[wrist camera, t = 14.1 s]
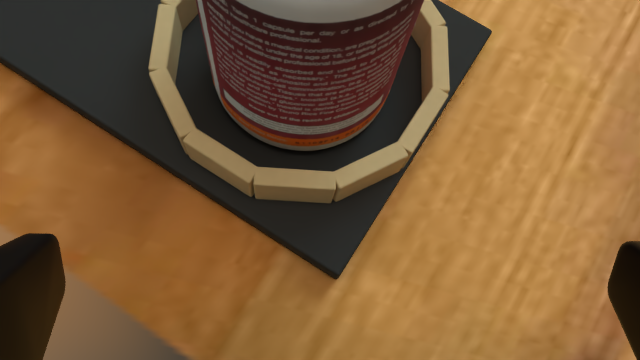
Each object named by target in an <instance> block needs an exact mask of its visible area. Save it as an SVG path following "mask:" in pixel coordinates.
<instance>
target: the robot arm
mask: <svg viewBox="0 0 640 360" xmlns="http://www.w3.org/2000/svg"><path fill="white" fill-rule="evenodd" d="M64 291H65V275H64V269H63V264H62V258H61V252H60V247H59V242H58V240H57V238H56V237H55V236H54V235H53V234H34V233H29V234H25V235H22V236H20V237H18V238H16V239H14V240H12V241H10V242H8V243H6V244H3V245H2V246H0V360H43V356H44V353H45V350H46V347H47V344H48V341H49V338H50V335H51V332H52V329H53V326H54V323H55V320H56V317H57V314H58V311H59V308H60V305H61V301H62V299H63V296H64ZM608 295H609V298H610V301H611V303H612V305H613V308H614V310H615V312H616V314H617V316H618V319H619V321H620V323H621V325H622V328H623V330H624V332H625V334H626V336H627V339H628V341H629V343H630V345H631V348H632V350H633V352H634V354H635V356H636V359H637V360H640V241H629V242H625V243H624V244H622V245H621V247H620V248H619V251H618V254H617V257H616V260H615V263H614V266H613V269H612V272H611V275H610V278H609V282H608Z"/></svg>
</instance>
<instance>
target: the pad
mask: <svg viewBox="0 0 640 360" xmlns="http://www.w3.org/2000/svg"><path fill="white" fill-rule="evenodd" d="M491 32H492V31H491V30H490V29H488V28H486V27H485V26H483V25H481V24H479V23H478V22H476V21H474V20H472V19H471V18H469V17H467V16H465V15H463V14H462V13H460V12H458V11H456V10H455V9H453V8H451V7H449V6H448V5H446V4H444V3H442V2H440V1H439V0H424V2H423V4H422V7H421V9H420V12H419V15H418V17H417V20H416V23H415V26H414V28H413V31H412V33H411V36H410V38H409V41H408V44H407V46H406V49H405V52H404V54H403V57H402V59H401V62H400V65H399V67H398V70H397V73H396V76H395V78H394V81H393V84H392V86H391V89H390V92H389V94H388V96H387V98H386V100H385V102H384V104H383V106H382V108H381V110H380V112H379V113H378V114H377V116H376V117H375V119H374V120H373V121H372V122H371V123H370V124H369V125H368V126H367V127H366V128H365V129H364V130H363V131H361V132H360V133H359V134H357V135H356V136H354V137H353V138H351V139H349V140H348V141H346V142H343V143H341V144H338V145H336V146H333V147H329V148H326V149H321V150H314V151H296V150H289V149H284V148H279V147H276V146H273V145H270V144H268V143H265V142H263V141H261V140H259V139H257V138H256V137H254V136H252V135H251V134H249V133H248V132H247V131H245V130H244V129H243V128H242V127H241V126H239V125H238V124H237V123H236V122H235V121H234V120H233V119H232V117H231V116H230V115H229V114H228V112H227V111H226V110H225V108H224V106H223V105H222V103H221V101H220V98H219V96H218V93H217V91H216V88H215V85H214V83H213V78H212V74H211V69H210V64H209V60H208V55H207V50H206V46H205V42H204V37H203V33H202V28H201V23H200V18H199V14H198V9H197V4H196V0H0V62H1V63H2V64H4V65H5V66H7V67H8V68H10V69H12V70H13V71H15V72H16V73H18V74H19V75H21V76H22V77H24V78H25V79H27V80H29V81H30V82H32V83H33V84H35V85H36V86H38V87H39V88H41V89H42V90H44V91H46V92H47V93H49V94H50V95H52V96H53V97H55V98H56V99H58V100H59V101H61V102H63V103H64V104H66V105H67V106H69V107H70V108H72V109H73V110H75V111H76V112H78V113H80V114H81V115H83V116H84V117H86V118H87V119H89V120H90V121H92V122H93V123H95V124H97V125H98V126H100V127H101V128H103V129H104V130H106V131H107V132H109V133H110V134H112V135H114V136H115V137H117V138H118V139H120V140H121V141H123V142H124V143H126V144H127V145H129V146H131V147H132V148H134V149H135V150H137V151H138V152H140V153H141V154H143V155H144V156H146V157H147V158H149V159H151V160H152V161H154V162H155V163H157V164H158V165H160V166H161V167H163V168H164V169H166V170H168V171H169V172H171V173H172V174H174V175H175V176H177V177H178V178H180V179H181V180H183V181H185V182H186V183H188V184H189V185H191V186H192V187H194V188H195V189H197V190H198V191H200V192H202V193H203V194H205V195H206V196H208V197H209V198H211V199H212V200H214V201H215V202H217V203H219V204H220V205H222V206H223V207H225V208H226V209H228V210H229V211H231V212H232V213H234V214H236V215H237V216H239V217H240V218H242V219H243V220H245V221H246V222H248V223H249V224H251V225H253V226H254V227H256V228H257V229H259V230H260V231H262V232H263V233H265V234H266V235H268V236H270V237H271V238H273V239H274V240H276V241H277V242H279V243H280V244H282V245H283V246H285V247H287V248H288V249H290V250H291V251H293V252H294V253H296V254H297V255H299V256H300V257H302V258H303V259H305V260H307V261H308V262H310V263H311V264H313V265H314V266H316V267H317V268H319V269H320V270H322V271H324V272H325V273H327V274H328V275H330V276H331V277H333V278H334V279H337V278H339V276H340V274H341V273H342V271H343V270H344V268H345V266H346V265H347V263H348V262H349V260H350V258H351V257H352V255H353V254H354V252H355V250H356V249H357V247H358V246H359V244H360V242H361V241H362V239H363V238H364V236H365V234H366V233H367V231H368V230H369V228H370V227H371V225H372V223H373V222H374V220H375V219H376V217H377V215H378V214H379V212H380V211H381V209H382V207H383V206H384V204H385V203H386V201H387V199H388V198H389V196H390V195H391V193H392V191H393V190H394V188H395V187H396V185H397V183H398V182H399V180H400V179H401V177H402V175H403V174H404V172H405V171H406V169H407V167H408V166H409V164H410V163H411V161H412V159H413V158H414V156H415V155H416V153H417V151H418V150H419V148H420V147H421V145H422V143H423V142H424V140H425V139H426V137H427V135H428V134H429V132H430V131H431V129H432V127H433V126H434V124H435V123H436V121H437V119H438V118H439V116H440V115H441V113H442V111H443V110H444V108H445V107H446V105H447V103H448V102H449V100H450V99H451V97H452V95H453V94H454V92H455V91H456V89H457V87H458V86H459V84H460V83H461V81H462V79H463V78H464V76H465V75H466V73H467V71H468V70H469V68H470V67H471V65H472V63H473V62H474V60H475V59H476V57H477V55H478V54H479V52H480V51H481V49H482V47H483V46H484V44H485V43H486V41H487V39H488V38H489V36H490V35H491Z"/></svg>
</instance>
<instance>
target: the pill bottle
mask: <svg viewBox="0 0 640 360" xmlns="http://www.w3.org/2000/svg"><path fill="white" fill-rule="evenodd" d="M423 2H424V0H196V4H197V9H198V14H199V18H200V23H201V28H202V33H203V37H204V42H205V46H206V50H207V55H208V60H209V64H210V69H211V74H212V78H213V83H214V85H215V88H216V91H217V93H218V96H219V98H220V101H221V103H222V105H223V106H224V108H225V110H226V111H227V112H228V114H229V115H230V116H231V117H232V119H233V120H234V121H235V122H236V123H237V124H238V125H239V126H241V127H242V128H243V129H244V130H245V131H247V132H248V133H249V134H251V135H252V136H254V137H256V138H257V139H259V140H261V141H263V142H265V143H268V144H270V145H273V146H276V147H279V148H284V149H289V150H296V151H314V150H321V149H326V148H329V147H333V146H336V145H338V144H341V143H343V142H346V141H348V140H349V139H351V138H353V137H354V136H356V135H357V134H359V133H360V132H361V131H363V130H364V129H365V128H366V127H367V126H368V125H369V124H370V123H371V122H372V121H373V120H374V119H375V117H376V116H377V114H378V113H379V112H380V110H381V108H382V106H383V104H384V102H385V100H386V98H387V96H388V94H389V92H390V89H391V86H392V84H393V81H394V78H395V76H396V73H397V70H398V67H399V65H400V62H401V59H402V57H403V54H404V52H405V49H406V46H407V44H408V41H409V38H410V36H411V33H412V31H413V28H414V26H415V23H416V20H417V17H418V15H419V12H420V9H421V7H422V4H423Z"/></svg>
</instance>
